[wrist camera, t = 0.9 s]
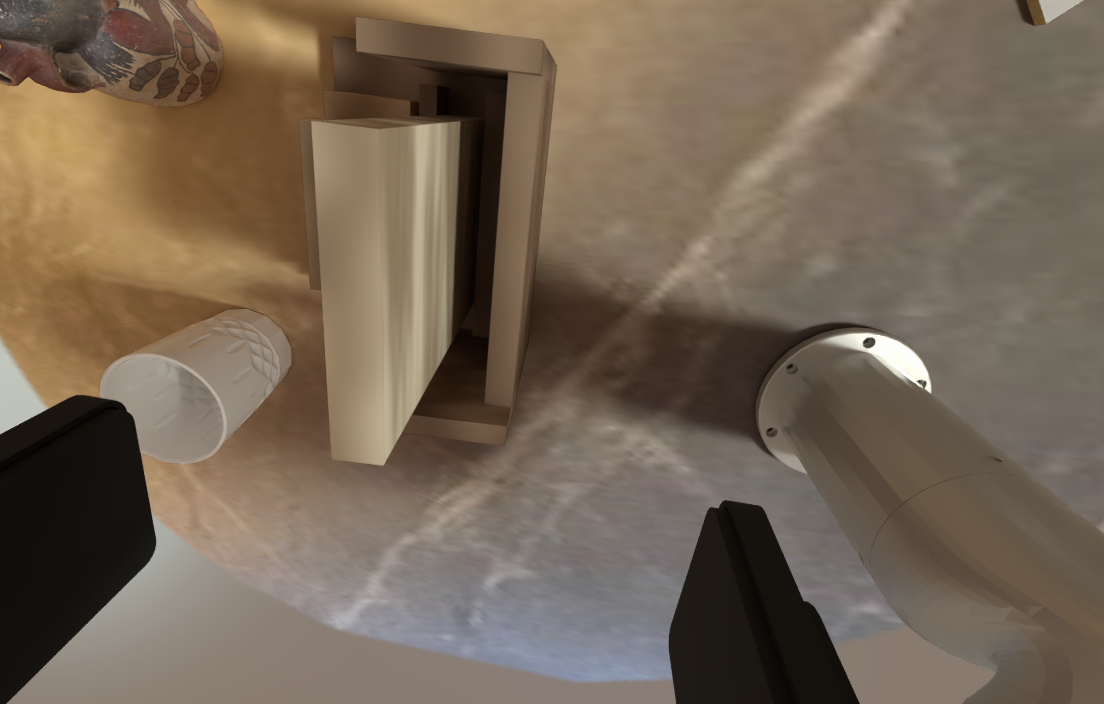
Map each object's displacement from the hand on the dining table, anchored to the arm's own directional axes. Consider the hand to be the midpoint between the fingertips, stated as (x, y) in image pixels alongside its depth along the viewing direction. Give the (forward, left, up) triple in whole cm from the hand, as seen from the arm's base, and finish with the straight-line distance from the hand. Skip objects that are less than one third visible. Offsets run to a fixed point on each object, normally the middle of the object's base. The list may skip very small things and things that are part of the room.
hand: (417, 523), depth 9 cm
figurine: (+25, +6, -32) cm, 41 cm away
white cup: (+12, +23, -32) cm, 41 cm away
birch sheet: (+4, +3, -30) cm, 31 cm away
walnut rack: (+5, +4, -32) cm, 32 cm away
